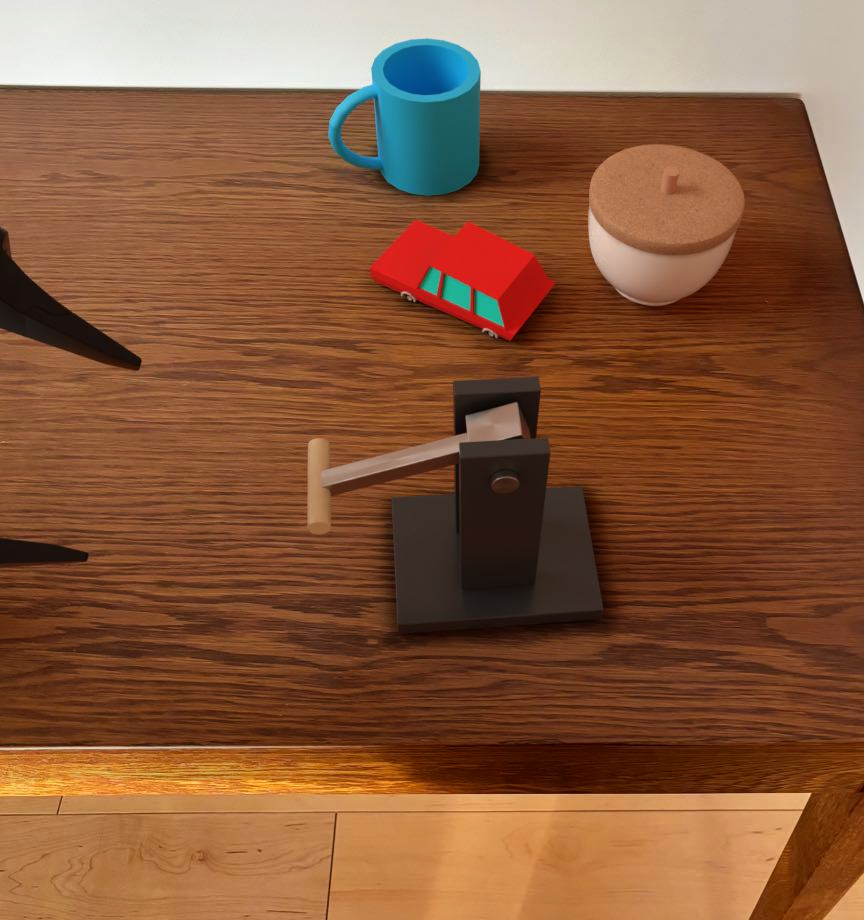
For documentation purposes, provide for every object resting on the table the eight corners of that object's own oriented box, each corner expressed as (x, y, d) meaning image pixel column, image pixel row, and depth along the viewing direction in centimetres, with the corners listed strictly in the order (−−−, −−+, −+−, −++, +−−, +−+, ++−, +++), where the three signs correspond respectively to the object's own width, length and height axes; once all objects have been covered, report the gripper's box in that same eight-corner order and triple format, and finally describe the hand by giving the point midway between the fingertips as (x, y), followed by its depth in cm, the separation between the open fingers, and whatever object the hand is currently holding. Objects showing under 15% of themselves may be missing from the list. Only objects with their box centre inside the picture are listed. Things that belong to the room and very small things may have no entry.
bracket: (398, 634, 59) (382, 496, 47) (392, 507, 64) (376, 354, 52) (601, 619, 60) (634, 481, 48) (580, 496, 65) (605, 343, 53)
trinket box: (630, 348, 72) (651, 243, 64) (552, 256, 77) (562, 149, 69) (750, 298, 75) (783, 193, 67) (667, 213, 80) (690, 106, 72)
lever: (318, 542, 53) (298, 519, 51) (318, 459, 56) (299, 434, 54) (538, 488, 51) (525, 461, 49) (525, 404, 54) (514, 376, 52)
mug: (461, 124, 85) (461, 31, 78) (492, 185, 81) (495, 91, 74) (322, 150, 83) (309, 55, 76) (346, 213, 79) (335, 119, 72)
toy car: (418, 236, 78) (416, 192, 74) (555, 294, 75) (560, 251, 71) (370, 286, 74) (366, 243, 71) (512, 349, 71) (515, 307, 68)
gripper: (-478, 567, 31) (58, 668, 37) (-280, 36, 34) (185, 204, 40) (-345, 583, 41) (59, 660, 47) (-202, 172, 45) (160, 291, 50)
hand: (114, 459), depth 46 cm, fingers open, 9 cm apart
